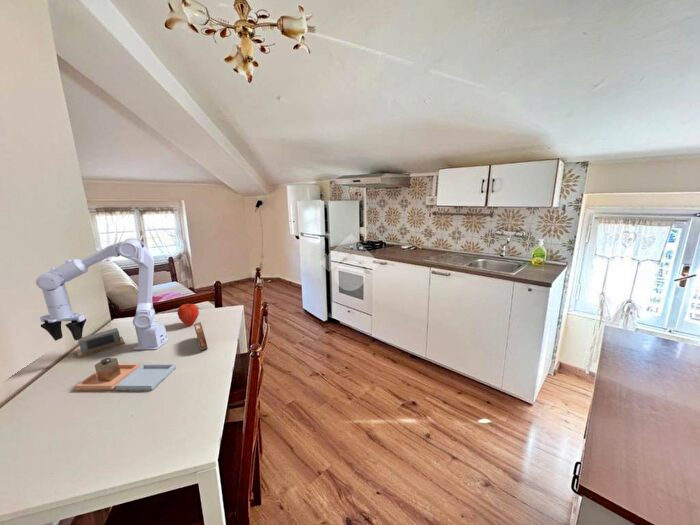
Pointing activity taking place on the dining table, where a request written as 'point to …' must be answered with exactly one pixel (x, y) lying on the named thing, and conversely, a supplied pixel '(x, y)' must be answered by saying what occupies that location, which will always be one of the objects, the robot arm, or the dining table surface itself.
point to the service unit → (99, 342)
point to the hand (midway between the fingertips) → (68, 339)
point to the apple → (188, 314)
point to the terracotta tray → (96, 385)
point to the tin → (200, 336)
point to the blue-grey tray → (146, 377)
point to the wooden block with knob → (107, 369)
